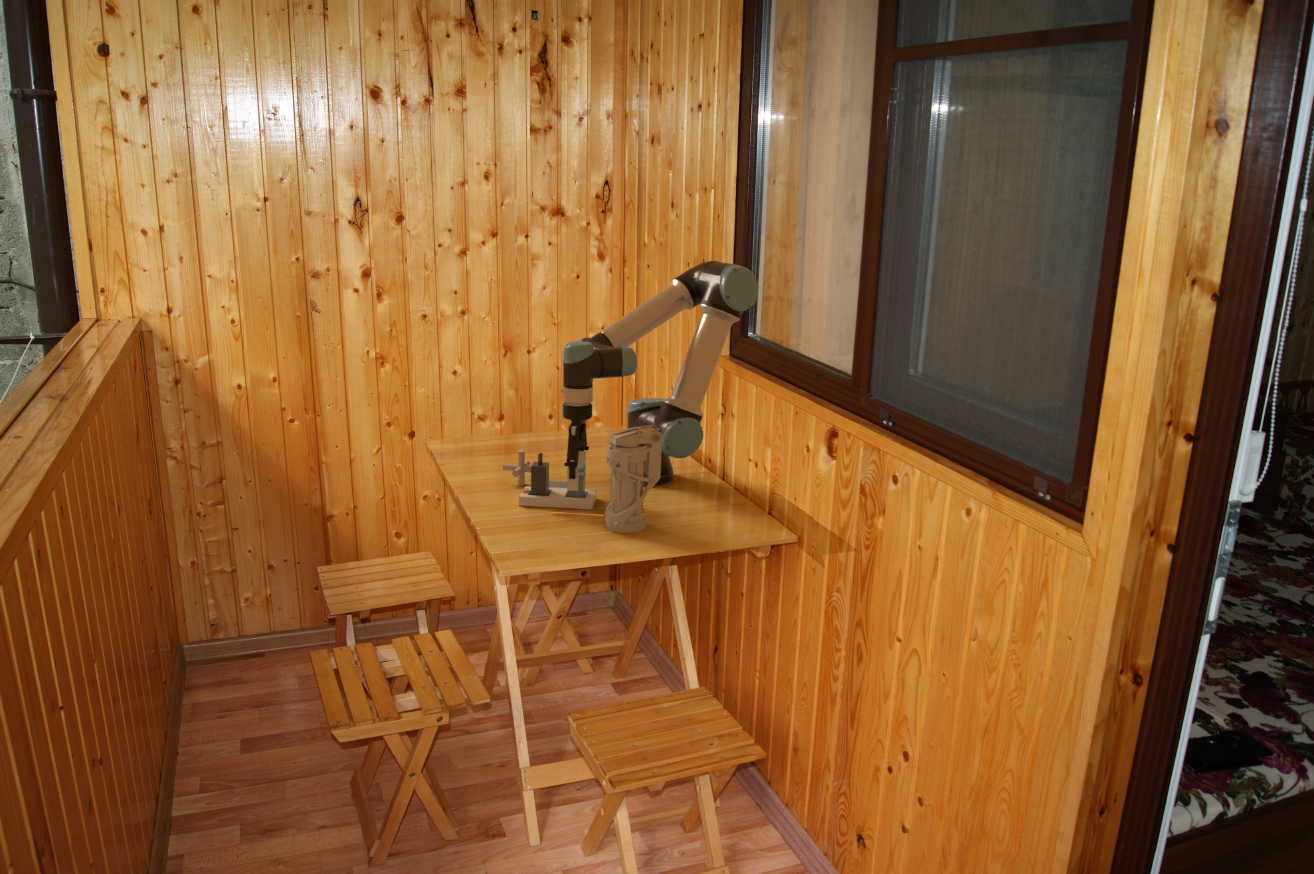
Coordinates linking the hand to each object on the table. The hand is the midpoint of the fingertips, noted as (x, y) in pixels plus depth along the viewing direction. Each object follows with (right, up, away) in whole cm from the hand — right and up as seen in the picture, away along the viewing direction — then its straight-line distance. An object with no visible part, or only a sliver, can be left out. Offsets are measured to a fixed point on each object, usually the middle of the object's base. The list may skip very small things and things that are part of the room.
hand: (576, 482), depth 270 cm
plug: (0, -5, +1) cm, 6 cm away
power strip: (-5, -6, +2) cm, 8 cm away
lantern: (+14, -11, -13) cm, 22 cm away
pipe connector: (-16, -2, +16) cm, 23 cm away
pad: (-5, -2, +14) cm, 16 cm away
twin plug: (-10, -6, +2) cm, 11 cm away
